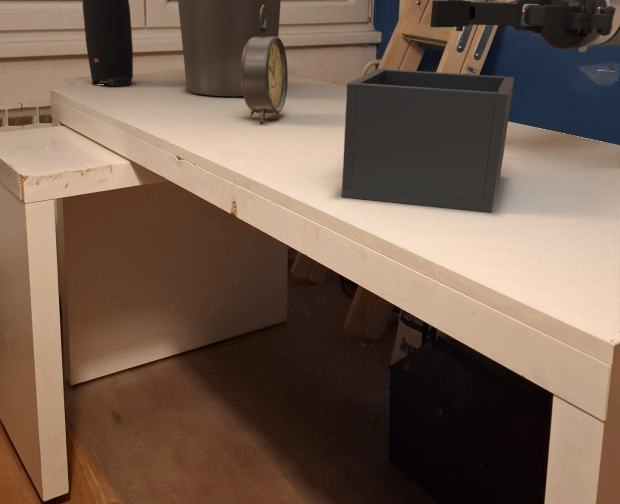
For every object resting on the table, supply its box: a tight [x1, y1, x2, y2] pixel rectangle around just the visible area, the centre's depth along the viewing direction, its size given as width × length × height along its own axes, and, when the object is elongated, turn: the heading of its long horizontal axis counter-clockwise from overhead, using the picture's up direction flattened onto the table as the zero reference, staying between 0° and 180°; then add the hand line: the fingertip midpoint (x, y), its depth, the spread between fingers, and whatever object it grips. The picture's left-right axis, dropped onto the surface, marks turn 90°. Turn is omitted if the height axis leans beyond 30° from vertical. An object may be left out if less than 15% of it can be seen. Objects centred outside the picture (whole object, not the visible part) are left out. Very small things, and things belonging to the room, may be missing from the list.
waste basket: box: [177, 0, 282, 97], centre depth 138 cm, size 27×20×30 cm
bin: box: [341, 68, 515, 213], centre depth 79 cm, size 15×15×11 cm
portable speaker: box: [82, 0, 134, 87], centre depth 144 cm, size 9×9×20 cm
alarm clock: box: [240, 5, 289, 125], centre depth 114 cm, size 11×5×16 cm, turn 166°
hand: (487, 17), depth 79 cm, fingers open, 13 cm apart
